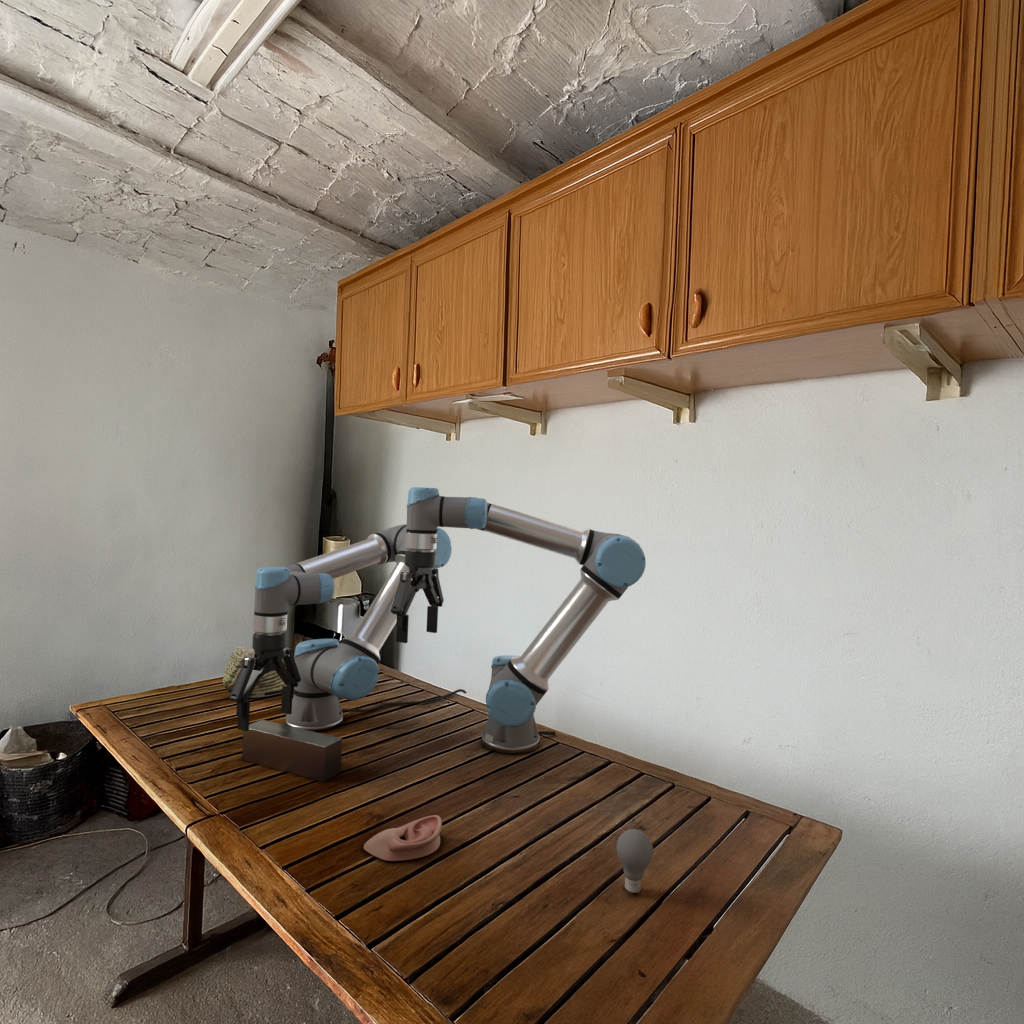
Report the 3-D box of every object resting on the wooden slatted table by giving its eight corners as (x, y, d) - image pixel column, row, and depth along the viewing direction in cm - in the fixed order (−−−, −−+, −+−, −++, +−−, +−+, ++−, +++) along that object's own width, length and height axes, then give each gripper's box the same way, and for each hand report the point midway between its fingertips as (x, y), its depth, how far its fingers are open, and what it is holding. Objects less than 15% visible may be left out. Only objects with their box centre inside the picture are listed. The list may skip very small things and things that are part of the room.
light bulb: (610, 879, 108) (613, 822, 108) (644, 879, 109) (647, 822, 109) (619, 902, 102) (622, 840, 102) (655, 901, 103) (658, 840, 103)
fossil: (218, 695, 195) (220, 647, 195) (278, 685, 208) (279, 640, 207) (228, 703, 189) (230, 653, 188) (289, 692, 201) (290, 645, 201)
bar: (241, 759, 150) (243, 726, 150) (261, 751, 156) (262, 719, 156) (323, 782, 141) (324, 747, 140) (340, 772, 146) (342, 738, 146)
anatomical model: (356, 833, 112) (382, 804, 123) (355, 856, 112) (381, 824, 123) (428, 845, 109) (448, 813, 121) (427, 868, 109) (447, 834, 121)
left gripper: (240, 643, 138) (235, 740, 138) (318, 626, 161) (313, 709, 161) (215, 639, 141) (210, 734, 141) (295, 622, 164) (291, 704, 164)
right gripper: (405, 554, 142) (401, 649, 142) (458, 548, 164) (455, 630, 165) (377, 552, 145) (374, 644, 145) (433, 546, 167) (430, 626, 168)
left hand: (265, 721), depth 151 cm, fingers open, 13 cm apart
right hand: (417, 637), depth 155 cm, fingers open, 13 cm apart
